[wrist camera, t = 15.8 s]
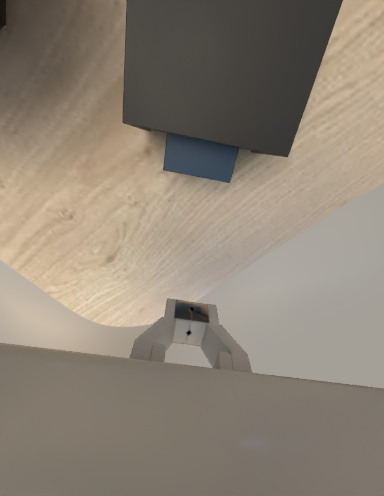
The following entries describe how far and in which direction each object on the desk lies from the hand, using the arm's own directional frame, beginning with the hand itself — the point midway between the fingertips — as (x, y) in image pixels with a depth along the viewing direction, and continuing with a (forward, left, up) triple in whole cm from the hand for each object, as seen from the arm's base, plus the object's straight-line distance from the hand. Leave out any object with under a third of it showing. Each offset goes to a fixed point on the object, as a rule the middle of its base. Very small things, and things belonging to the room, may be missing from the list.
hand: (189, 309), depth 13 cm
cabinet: (0, -15, -16) cm, 22 cm away
